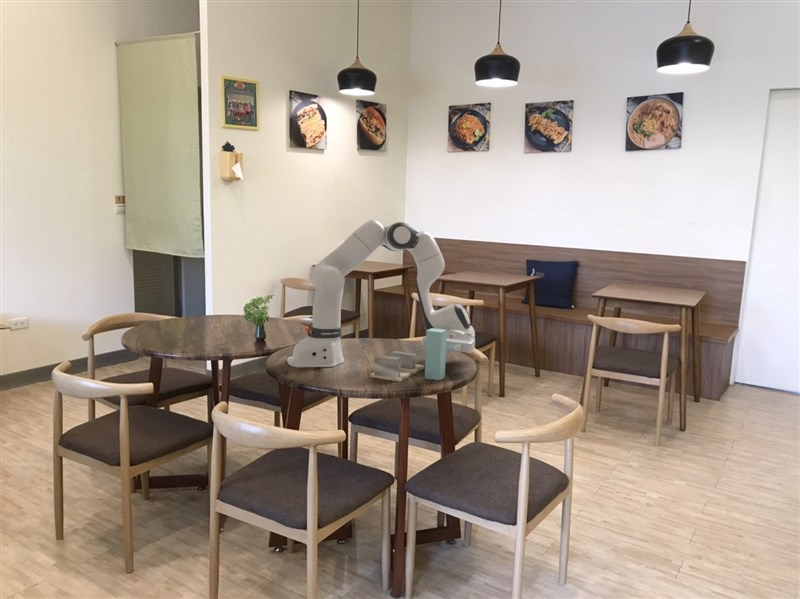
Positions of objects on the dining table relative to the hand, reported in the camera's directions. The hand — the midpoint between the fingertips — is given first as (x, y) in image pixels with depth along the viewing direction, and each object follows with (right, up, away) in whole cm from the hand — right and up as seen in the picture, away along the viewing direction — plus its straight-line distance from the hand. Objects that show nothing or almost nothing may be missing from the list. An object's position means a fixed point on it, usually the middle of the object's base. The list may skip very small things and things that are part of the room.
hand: (441, 347), depth 240 cm
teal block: (-3, -11, -3) cm, 12 cm away
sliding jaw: (-14, -8, +7) cm, 17 cm away
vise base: (-16, -10, +3) cm, 19 cm away
